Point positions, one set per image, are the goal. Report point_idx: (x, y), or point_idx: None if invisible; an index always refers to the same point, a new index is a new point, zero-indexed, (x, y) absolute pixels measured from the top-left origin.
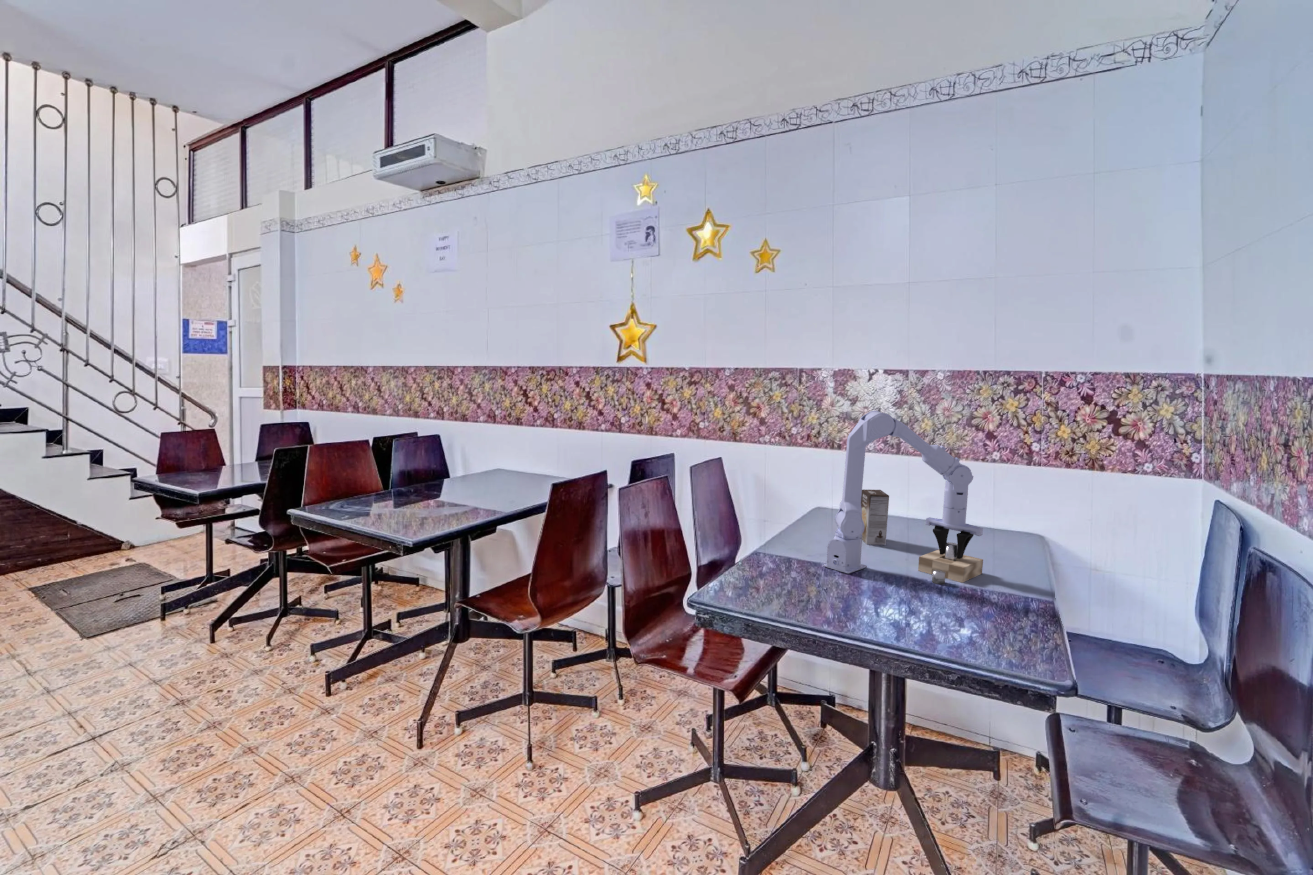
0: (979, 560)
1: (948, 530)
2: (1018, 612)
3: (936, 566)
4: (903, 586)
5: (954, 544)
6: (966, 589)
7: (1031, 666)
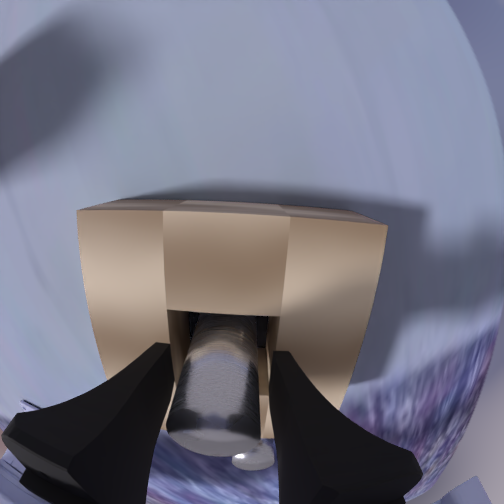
0: (375, 271)
1: (93, 458)
2: (437, 430)
3: None
4: (207, 478)
5: (234, 433)
6: None
7: (413, 494)
